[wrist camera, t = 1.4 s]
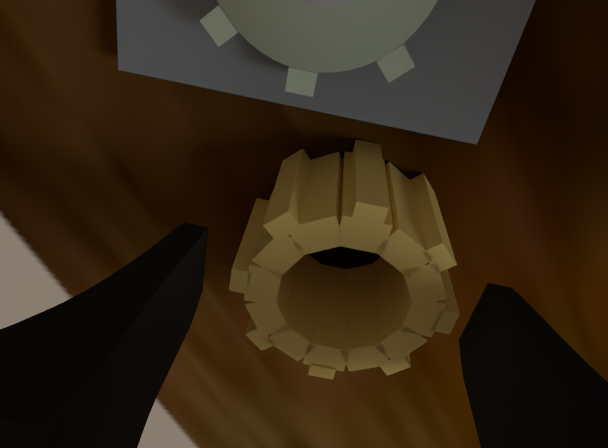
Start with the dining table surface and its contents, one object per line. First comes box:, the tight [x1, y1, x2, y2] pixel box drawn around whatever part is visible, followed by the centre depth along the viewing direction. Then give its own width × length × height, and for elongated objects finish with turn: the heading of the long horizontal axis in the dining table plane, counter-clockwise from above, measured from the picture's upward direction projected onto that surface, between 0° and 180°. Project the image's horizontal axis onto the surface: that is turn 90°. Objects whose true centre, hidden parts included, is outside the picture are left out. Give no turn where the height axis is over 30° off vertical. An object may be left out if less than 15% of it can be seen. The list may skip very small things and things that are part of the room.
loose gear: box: [229, 140, 460, 380], centre depth 13 cm, size 6×6×4 cm
